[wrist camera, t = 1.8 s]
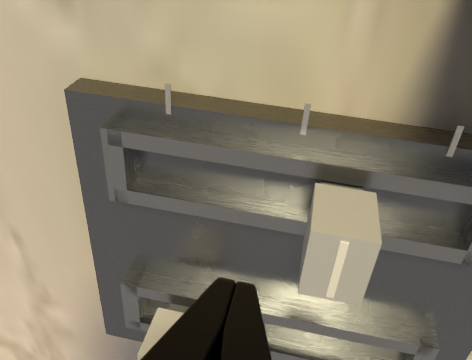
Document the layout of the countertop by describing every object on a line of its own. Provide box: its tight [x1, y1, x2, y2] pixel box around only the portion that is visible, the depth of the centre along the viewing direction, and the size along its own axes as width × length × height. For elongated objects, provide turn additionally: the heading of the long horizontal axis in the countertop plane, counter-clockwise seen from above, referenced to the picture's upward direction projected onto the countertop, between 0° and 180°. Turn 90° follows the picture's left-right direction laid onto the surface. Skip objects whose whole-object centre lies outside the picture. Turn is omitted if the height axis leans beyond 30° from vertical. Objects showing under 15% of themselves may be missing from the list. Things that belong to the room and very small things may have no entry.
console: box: [64, 78, 472, 360], centre depth 23 cm, size 22×19×3 cm
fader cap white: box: [137, 303, 189, 360], centre depth 24 cm, size 2×4×5 cm, turn 176°
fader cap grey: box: [298, 180, 382, 306], centre depth 18 cm, size 2×3×5 cm
